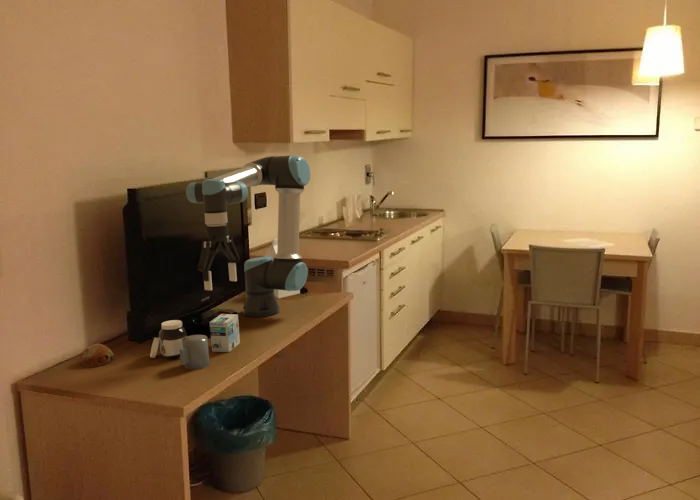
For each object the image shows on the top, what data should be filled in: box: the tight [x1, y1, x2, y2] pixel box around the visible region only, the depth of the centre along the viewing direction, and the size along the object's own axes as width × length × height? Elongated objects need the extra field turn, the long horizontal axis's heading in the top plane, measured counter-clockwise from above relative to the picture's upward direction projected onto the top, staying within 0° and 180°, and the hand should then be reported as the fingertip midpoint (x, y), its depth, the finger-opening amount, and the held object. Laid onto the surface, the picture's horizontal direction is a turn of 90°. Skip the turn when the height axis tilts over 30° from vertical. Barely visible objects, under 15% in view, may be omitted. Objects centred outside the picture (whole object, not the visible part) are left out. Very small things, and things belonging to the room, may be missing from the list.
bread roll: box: [80, 343, 115, 368], centre depth 219 cm, size 10×10×8 cm
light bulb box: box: [209, 313, 241, 353], centre depth 228 cm, size 11×7×11 cm, turn 168°
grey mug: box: [179, 334, 210, 370], centre depth 211 cm, size 11×8×9 cm
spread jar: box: [149, 319, 188, 360], centre depth 221 cm, size 12×11×12 cm
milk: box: [264, 238, 301, 299], centre depth 300 cm, size 12×12×26 cm
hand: (221, 285), depth 225 cm, fingers open, 13 cm apart
